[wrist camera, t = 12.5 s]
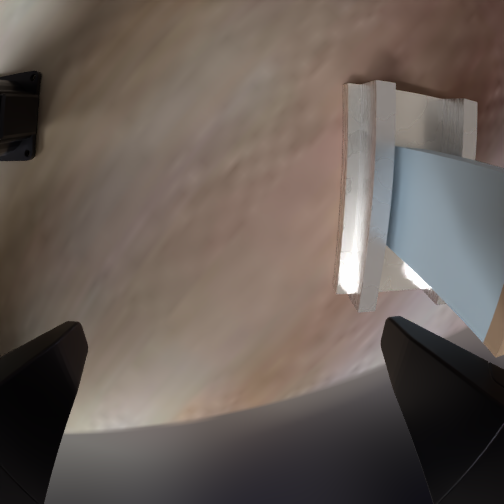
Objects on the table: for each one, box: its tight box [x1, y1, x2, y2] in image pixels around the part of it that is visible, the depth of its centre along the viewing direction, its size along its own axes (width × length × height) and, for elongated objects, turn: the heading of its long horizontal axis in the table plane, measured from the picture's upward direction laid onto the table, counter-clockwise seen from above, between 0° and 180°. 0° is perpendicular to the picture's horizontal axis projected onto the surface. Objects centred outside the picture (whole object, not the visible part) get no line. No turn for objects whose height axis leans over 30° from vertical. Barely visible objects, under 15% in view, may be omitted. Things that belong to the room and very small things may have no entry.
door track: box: [333, 80, 477, 312], centre depth 19 cm, size 9×14×4 cm, turn 1°
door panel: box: [386, 146, 504, 357], centre depth 14 cm, size 3×6×12 cm, turn 1°
